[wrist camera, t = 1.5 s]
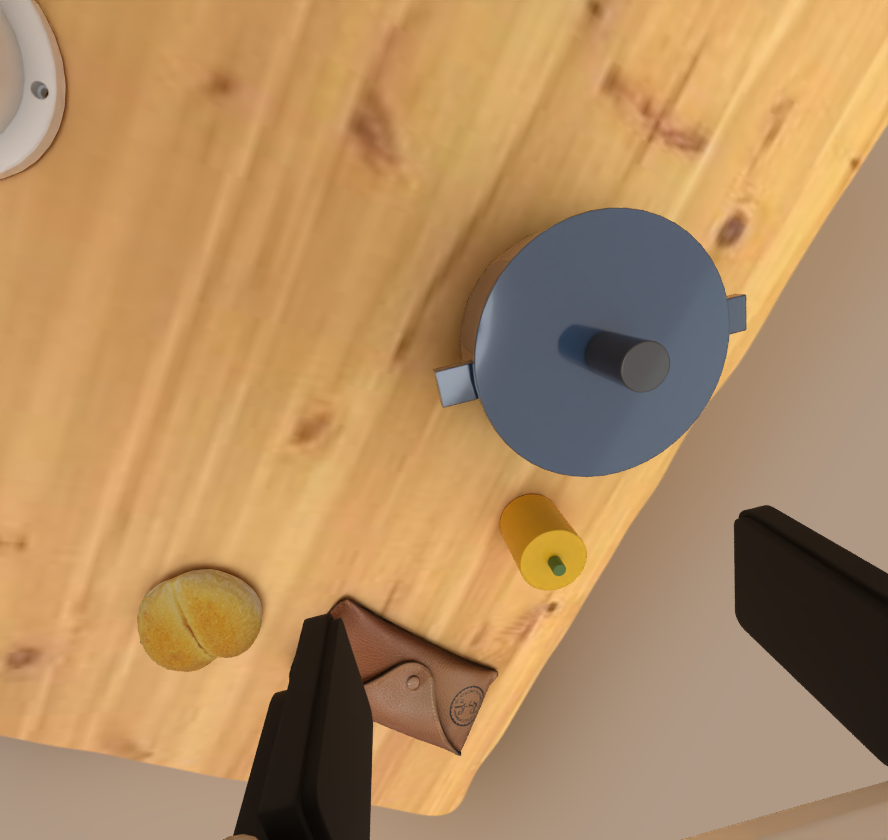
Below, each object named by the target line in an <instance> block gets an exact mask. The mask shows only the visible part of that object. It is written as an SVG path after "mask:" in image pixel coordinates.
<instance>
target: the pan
mask: <svg viewBox="0 0 888 840" xmlns="http://www.w3.org/2000/svg"><path fill="white" fill-rule="evenodd" d="M537 234H539V233H537ZM537 234H533V235H529V236H526V237H525V238H523V239H522V240H521V241H519V242H518V243H517V244H515V245H513V246H512V247H510V248H509V249H507V250H506V251H505V252H504V253H502V254H501V255H500V256H499V257H498V258H496V259H495V260H494V261H492V262H491V264H490V265H489V267H488V268H487V269H486V270H485V272H484V273H483V275H482V276H481V278H480V279H479V280H478V282H477V284H476V286H475V287H474V289H473V291H472V293H471V295H470V297H469V299H468V301H467V305H466V308H465V312H464V316H463V320H462V327H461V339H460V348H461V355H462V362H460V363H456V364H452V365H448V366H444V367H440V368H436V369H433V372H434V376H435V380H436V385H437V389H438V393H439V397H440V402H441V405H442V407H443V408H444V407H448V406H452V405H456V404H460V403H464V402H468V401H472V400H476V399H479V397H478V393H477V390H476V386H475V381H474V373H473V343H474V334H475V329H476V325H477V321H478V317H479V313H480V311H481V308H482V306H483V303H484V301H485V298H486V295H487V294H488V292H489V290H490V288H491V286H492V284H493V283H494V281H495V279H496V277H497V276H498V275H499V273H500V272H501V270H502V269H503V268H504V266H505V265H506V263H507V262H508V261H509V260H510V259H511V258H512V257H513V256H514V254H515V253H516V252H517V251H518V250H519V249H520V248H521V247H522V246H524V245H525V244H526V243H527V242H528V241H529V240H531V239H532V238H533V237H534V236H535V235H537ZM726 297H727V302H728V309H729V321H730V326H729V334H733V333H737V332H741V331H745V330H746V295H745V294H733V295H729V296H726Z"/></svg>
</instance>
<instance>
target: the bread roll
mask: <svg viewBox="0 0 888 840" xmlns="http://www.w3.org/2000/svg"><path fill="white" fill-rule="evenodd" d="M137 622H138V632H139V636H140V643H141V644H142V645H143V647H144V649H145V651H146V652H147V654H148V655H149V656H150V658H151V659H152V660H153V661H155V662H156V663H157V664H158V665H160V666H162V667H164V668H166V669H169V670H175V671H184V672H189V671H196V670H199V669H201V668H203V667H205V666H206V665H208V664H209V663H211V662H212V661H213V660H215V659H216V658H217V657H225V658H228V657H234V656H238V655H240V654H241V653H243V652H245V651H246V650H247V649H249V648H250V647H251V645H252V644H253V643H254V641H255V639H256V638H257V636H258V633H259V631H260V627H261V622H262V606H261V602H260V599H259V597H258V596H257V594H256V593H255V591H254V590H253V589H252V588H251V587H250V586H249V585H248V584H247V583H245V582H244V581H243V580H241V579H239V578H237V577H235V576H233V575H230V574H227V573H225V572H222V571H219V570H214V569H201V570H193V571H189V572H186V573H183V574H181V575H179V576H177V577H175V578H173V579H169V580H166V581H163V582H161V583H160V584H158V585H157V586H156V587H154V588H153V589H152V590H150V591H149V593H148V594H147V595H146V596H145V597H144V598H143V600H142V602H141V604H140V607H139V612H138V617H137Z"/></svg>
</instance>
